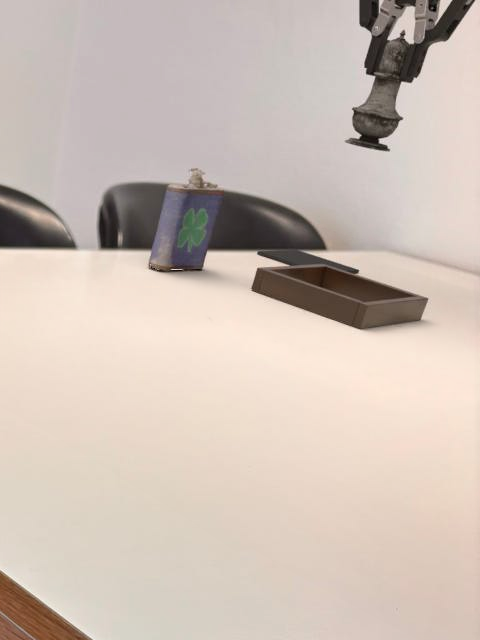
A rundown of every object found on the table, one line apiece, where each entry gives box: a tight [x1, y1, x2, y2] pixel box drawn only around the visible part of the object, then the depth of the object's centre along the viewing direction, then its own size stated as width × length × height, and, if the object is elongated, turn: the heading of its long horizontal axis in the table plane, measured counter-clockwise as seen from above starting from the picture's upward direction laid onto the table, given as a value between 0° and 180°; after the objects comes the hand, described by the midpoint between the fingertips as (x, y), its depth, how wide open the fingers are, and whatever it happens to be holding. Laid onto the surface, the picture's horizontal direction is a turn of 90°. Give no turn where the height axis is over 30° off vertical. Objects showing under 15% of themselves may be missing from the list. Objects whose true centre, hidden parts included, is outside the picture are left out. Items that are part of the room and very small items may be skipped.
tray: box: [250, 264, 429, 330], centre depth 121 cm, size 15×14×2 cm
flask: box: [147, 167, 225, 271], centre depth 121 cm, size 9×3×11 cm, turn 133°
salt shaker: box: [344, 29, 410, 153], centre depth 121 cm, size 6×6×12 cm
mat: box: [256, 249, 360, 274], centre depth 142 cm, size 10×10×1 cm
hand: (388, 77), depth 121 cm, fingers closed on salt shaker, 3 cm apart
